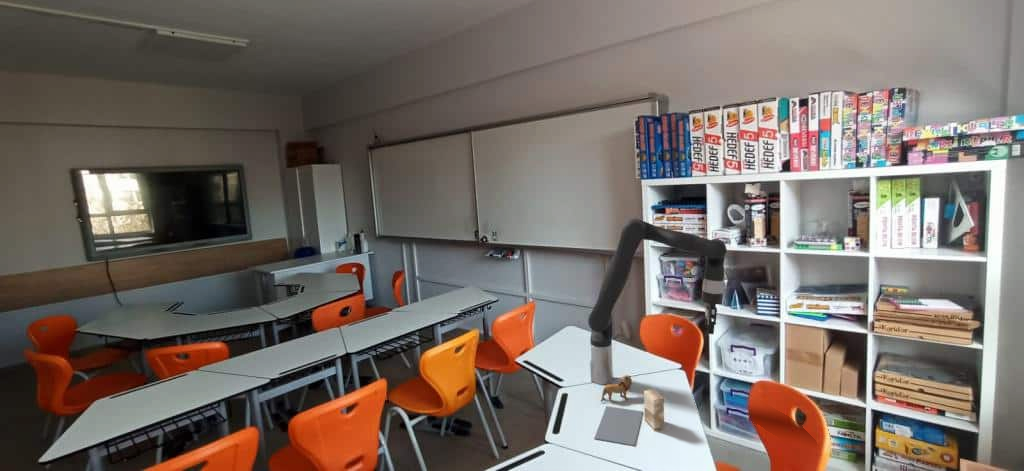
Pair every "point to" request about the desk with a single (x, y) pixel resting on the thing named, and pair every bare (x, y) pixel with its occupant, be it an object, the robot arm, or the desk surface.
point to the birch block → (654, 409)
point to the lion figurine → (618, 388)
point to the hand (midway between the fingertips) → (709, 330)
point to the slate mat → (619, 426)
